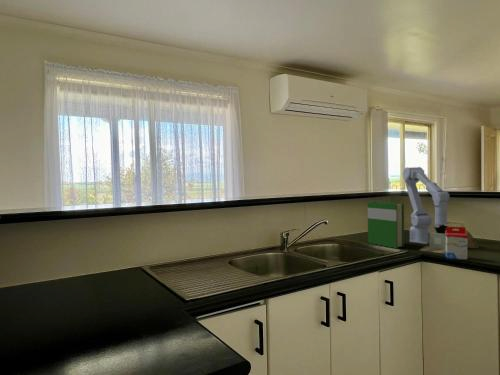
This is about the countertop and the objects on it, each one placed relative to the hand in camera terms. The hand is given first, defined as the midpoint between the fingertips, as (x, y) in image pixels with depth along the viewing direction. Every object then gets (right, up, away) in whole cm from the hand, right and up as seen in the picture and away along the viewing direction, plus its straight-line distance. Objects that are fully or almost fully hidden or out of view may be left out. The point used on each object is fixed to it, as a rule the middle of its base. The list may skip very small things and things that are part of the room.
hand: (440, 239), depth 191 cm
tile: (-3, -4, -3) cm, 6 cm away
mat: (-6, -5, -6) cm, 10 cm away
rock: (+13, -5, -1) cm, 14 cm away
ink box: (-5, -6, -23) cm, 24 cm away
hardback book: (-27, -5, +8) cm, 28 cm away
